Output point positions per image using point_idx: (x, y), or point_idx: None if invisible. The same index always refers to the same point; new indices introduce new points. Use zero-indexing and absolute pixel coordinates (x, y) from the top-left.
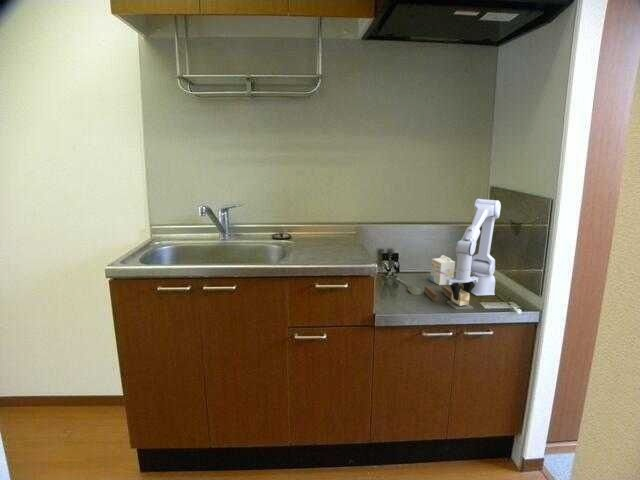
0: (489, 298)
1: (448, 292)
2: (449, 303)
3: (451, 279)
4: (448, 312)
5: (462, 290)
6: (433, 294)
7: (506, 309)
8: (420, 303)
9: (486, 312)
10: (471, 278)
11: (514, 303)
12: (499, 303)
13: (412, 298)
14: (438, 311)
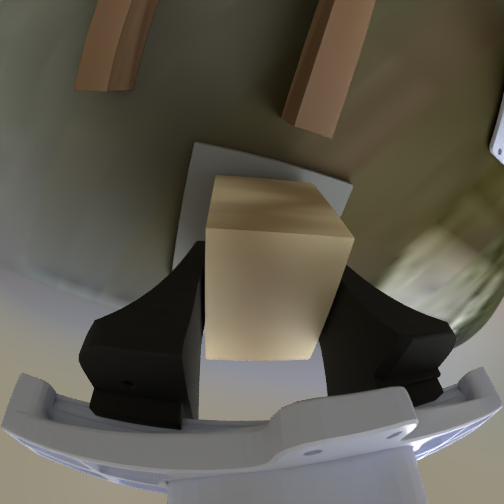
0: (495, 211)
1: (319, 30)
2: (185, 188)
3: (68, 462)
4: (105, 293)
5: (321, 288)
6: (85, 59)
7: None
8: (5, 122)
9: (316, 344)
10: (425, 445)
11: (492, 291)
12: (466, 277)
13: (9, 28)
14: (57, 265)
